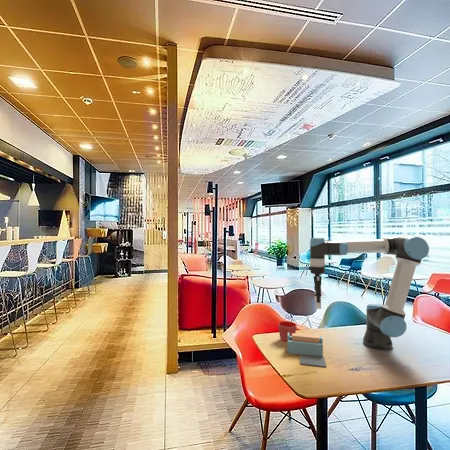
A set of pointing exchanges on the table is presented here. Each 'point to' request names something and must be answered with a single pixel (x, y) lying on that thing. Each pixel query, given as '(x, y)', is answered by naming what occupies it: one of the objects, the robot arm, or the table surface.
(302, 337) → the bar
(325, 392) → the table surface
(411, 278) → the robot arm
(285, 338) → the flower pot
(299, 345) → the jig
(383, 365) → the table surface
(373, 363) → the table surface
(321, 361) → the mat
